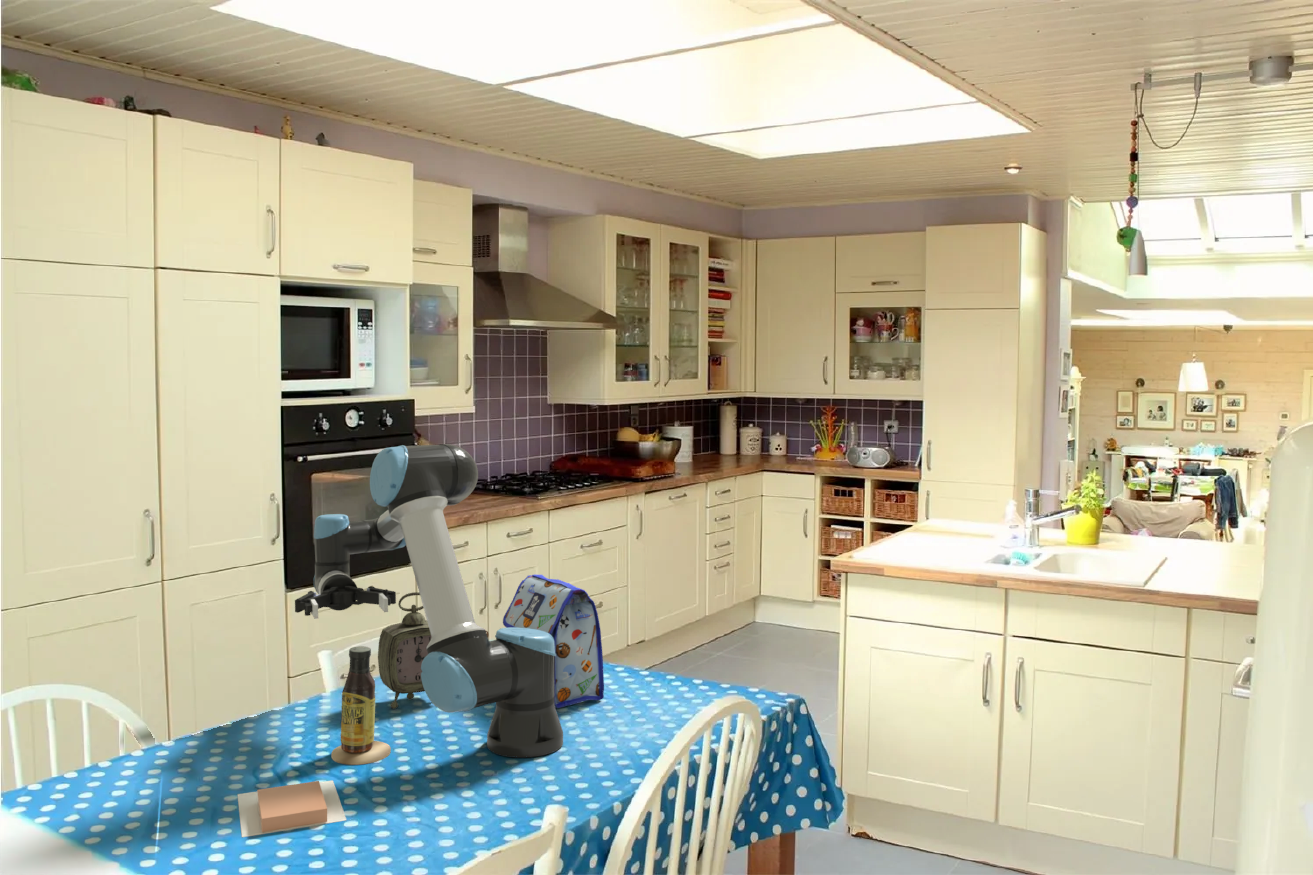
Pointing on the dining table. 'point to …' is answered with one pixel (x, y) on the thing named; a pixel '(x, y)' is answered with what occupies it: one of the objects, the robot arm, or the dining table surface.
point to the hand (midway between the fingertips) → (351, 608)
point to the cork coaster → (362, 754)
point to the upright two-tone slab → (291, 806)
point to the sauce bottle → (358, 703)
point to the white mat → (253, 827)
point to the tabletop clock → (404, 653)
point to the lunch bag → (563, 634)
